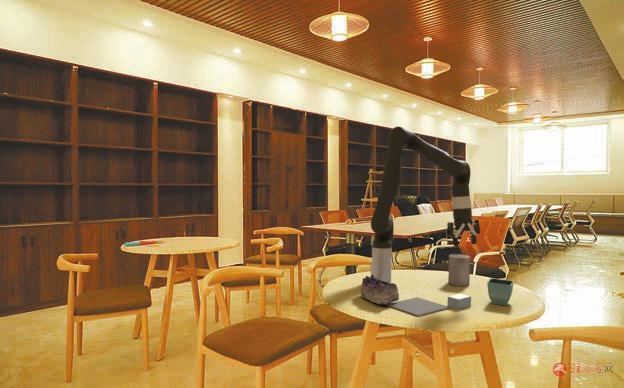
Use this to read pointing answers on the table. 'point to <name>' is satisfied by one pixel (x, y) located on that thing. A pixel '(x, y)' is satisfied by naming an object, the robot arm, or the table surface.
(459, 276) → the pillar candle
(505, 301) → the flower pot
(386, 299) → the geode
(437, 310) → the rubber mat
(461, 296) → the card box
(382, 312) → the table surface
